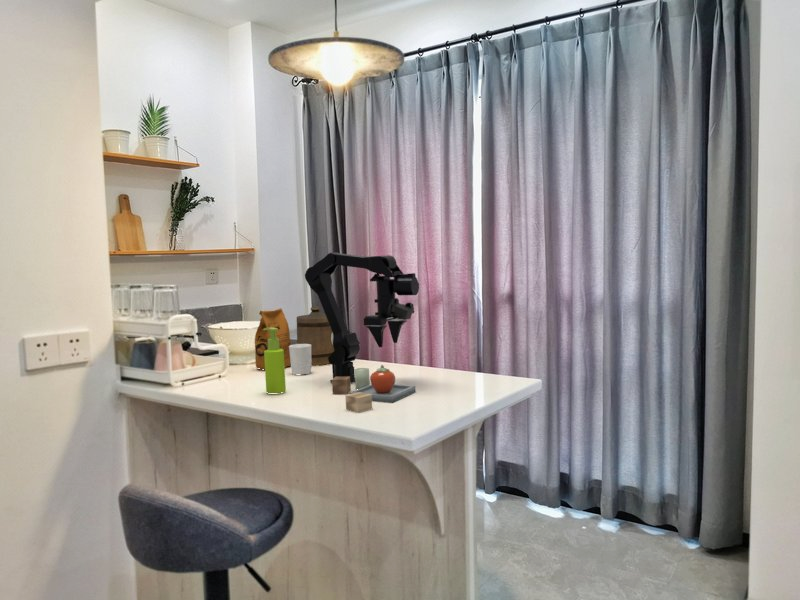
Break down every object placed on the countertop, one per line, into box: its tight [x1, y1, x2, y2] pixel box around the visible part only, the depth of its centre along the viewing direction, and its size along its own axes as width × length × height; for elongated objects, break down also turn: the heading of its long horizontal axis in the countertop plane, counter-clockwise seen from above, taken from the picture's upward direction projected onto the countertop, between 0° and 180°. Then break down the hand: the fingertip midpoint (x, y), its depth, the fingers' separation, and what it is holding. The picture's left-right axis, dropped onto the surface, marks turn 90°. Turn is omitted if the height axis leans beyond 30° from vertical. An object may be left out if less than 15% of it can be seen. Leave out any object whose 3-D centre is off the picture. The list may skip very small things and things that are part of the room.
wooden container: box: [296, 305, 334, 367], centre depth 244 cm, size 15×15×22 cm
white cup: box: [289, 343, 312, 375], centre depth 223 cm, size 8×8×10 cm
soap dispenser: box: [263, 327, 287, 393], centre depth 194 cm, size 6×7×20 cm
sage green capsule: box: [354, 367, 371, 390], centre depth 196 cm, size 4×4×6 cm
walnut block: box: [331, 377, 352, 395], centre depth 191 cm, size 4×4×4 cm
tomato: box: [369, 364, 396, 393], centre depth 185 cm, size 7×7×8 cm
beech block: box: [344, 392, 373, 413], centre depth 170 cm, size 5×5×4 cm
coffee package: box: [254, 308, 292, 371], centre depth 236 cm, size 10×12×22 cm
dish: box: [349, 384, 417, 404], centre depth 185 cm, size 14×14×2 cm
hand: (388, 344), depth 199 cm, fingers open, 9 cm apart
